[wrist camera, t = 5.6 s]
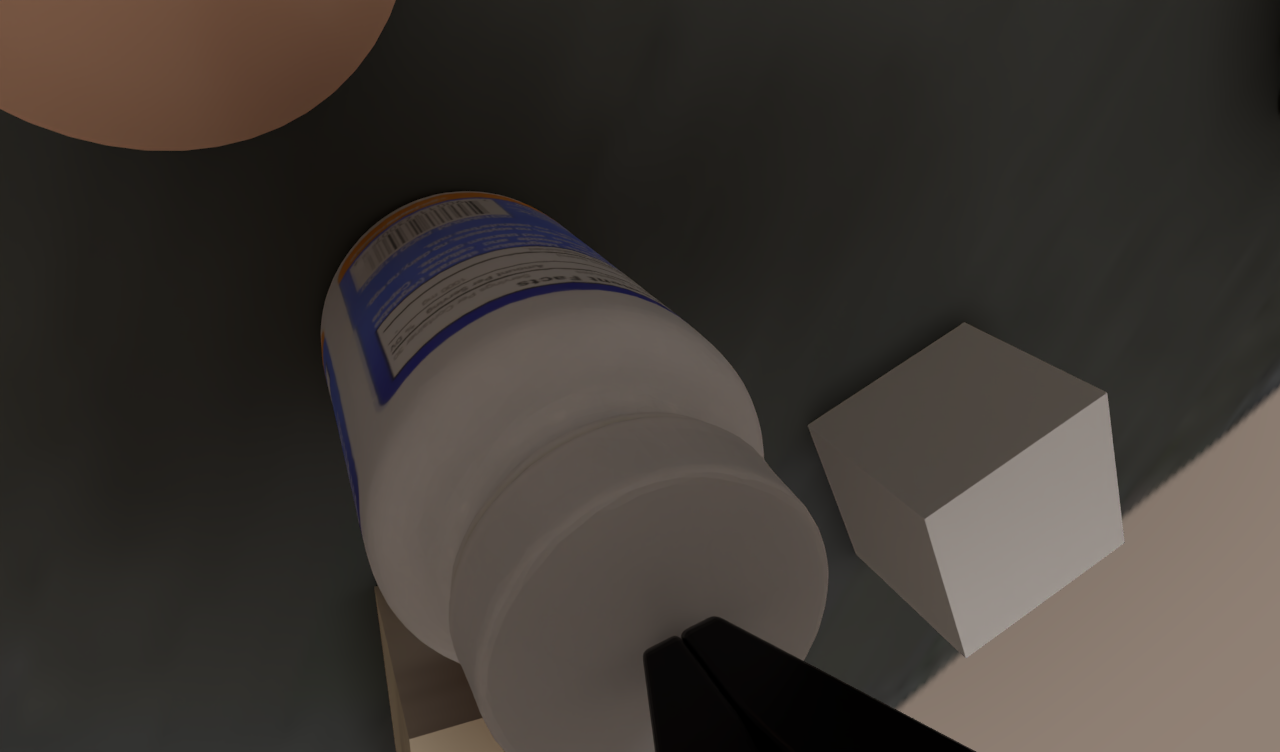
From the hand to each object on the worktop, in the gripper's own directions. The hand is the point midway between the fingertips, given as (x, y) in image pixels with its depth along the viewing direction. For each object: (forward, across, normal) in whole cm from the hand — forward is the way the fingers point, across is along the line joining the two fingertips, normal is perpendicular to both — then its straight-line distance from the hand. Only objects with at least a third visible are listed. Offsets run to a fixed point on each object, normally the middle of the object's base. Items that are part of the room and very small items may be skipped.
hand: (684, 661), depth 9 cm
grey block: (+10, -10, +8) cm, 16 cm away
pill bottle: (+10, 0, 0) cm, 10 cm away
